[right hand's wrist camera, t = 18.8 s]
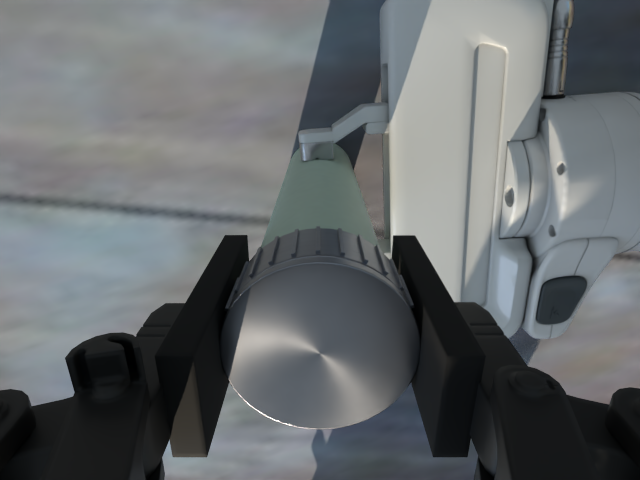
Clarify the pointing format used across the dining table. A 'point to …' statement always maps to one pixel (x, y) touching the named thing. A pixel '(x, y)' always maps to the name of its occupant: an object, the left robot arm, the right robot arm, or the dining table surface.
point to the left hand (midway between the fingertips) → (304, 198)
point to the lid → (320, 330)
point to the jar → (320, 199)
